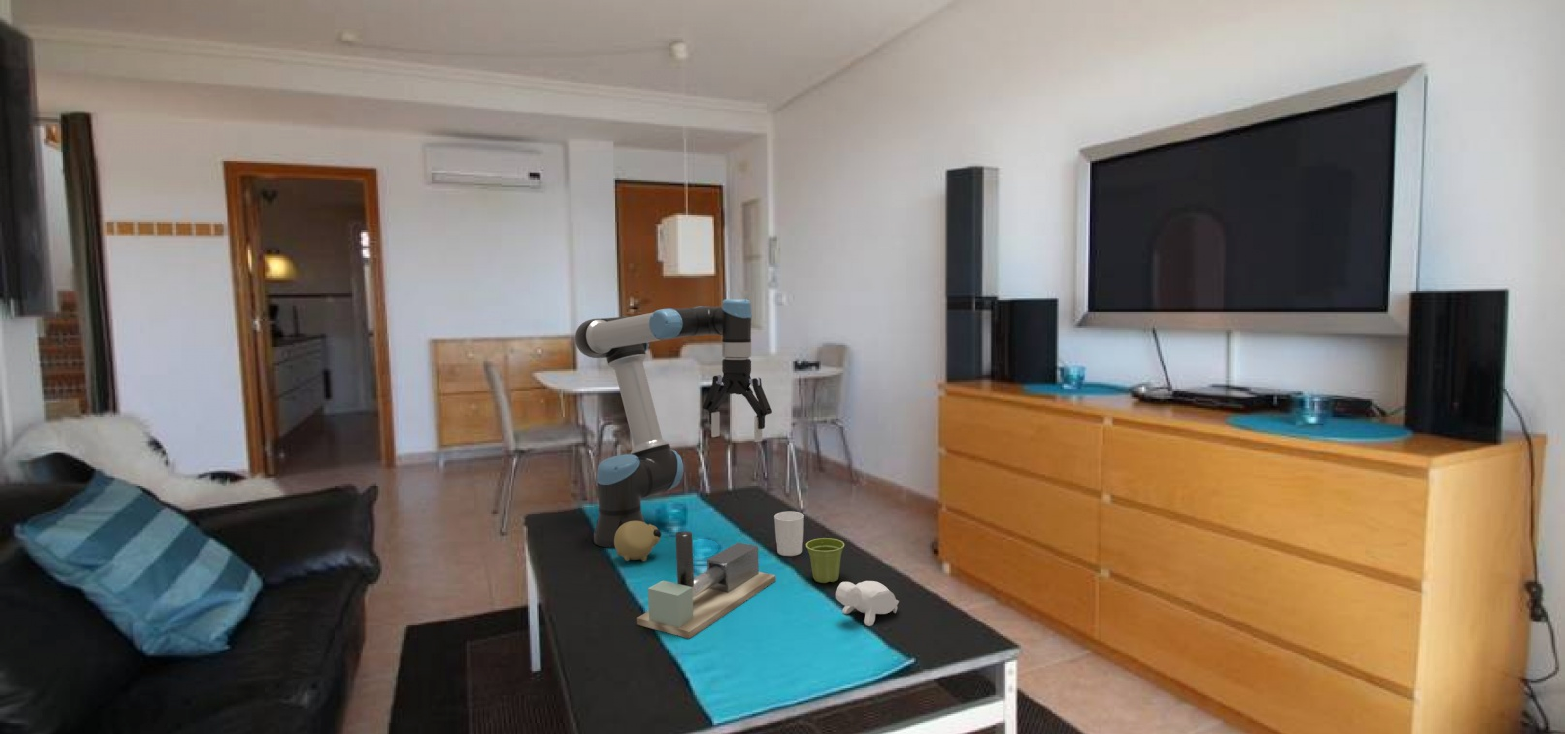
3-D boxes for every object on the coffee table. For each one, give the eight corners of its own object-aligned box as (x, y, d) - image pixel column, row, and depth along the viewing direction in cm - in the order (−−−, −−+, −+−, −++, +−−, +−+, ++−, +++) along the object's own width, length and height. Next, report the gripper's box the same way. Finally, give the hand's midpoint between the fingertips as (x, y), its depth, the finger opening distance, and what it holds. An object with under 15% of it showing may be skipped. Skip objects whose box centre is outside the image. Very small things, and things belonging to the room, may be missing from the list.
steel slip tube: (662, 608, 162) (659, 541, 160) (718, 575, 179) (716, 514, 178) (675, 612, 160) (672, 543, 158) (731, 578, 178) (729, 516, 176)
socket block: (649, 619, 162) (647, 588, 161) (664, 610, 166) (662, 580, 165) (679, 627, 158) (677, 595, 157) (693, 618, 162) (692, 587, 161)
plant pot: (799, 582, 184) (799, 547, 183) (816, 569, 192) (815, 535, 191) (835, 588, 180) (834, 553, 179) (850, 574, 188) (850, 540, 187)
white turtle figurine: (869, 616, 171) (820, 609, 163) (879, 579, 172) (831, 570, 164) (896, 629, 165) (847, 623, 156) (906, 591, 166) (858, 582, 157)
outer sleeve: (707, 588, 178) (706, 559, 177) (738, 569, 189) (738, 542, 188) (728, 592, 175) (727, 563, 174) (758, 573, 186) (758, 546, 185)
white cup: (804, 557, 201) (803, 520, 200) (774, 557, 201) (773, 520, 200) (804, 546, 209) (803, 511, 207) (775, 547, 209) (774, 511, 208)
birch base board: (637, 624, 163) (636, 617, 163) (727, 571, 192) (727, 565, 192) (689, 638, 156) (689, 631, 156) (775, 581, 185) (775, 575, 185)
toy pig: (666, 559, 201) (665, 520, 200) (624, 570, 194) (622, 529, 193) (651, 549, 209) (649, 511, 208) (609, 559, 203) (607, 520, 201)
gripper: (785, 359, 196) (784, 441, 198) (706, 355, 209) (706, 432, 211) (769, 361, 190) (769, 445, 192) (689, 357, 203) (689, 436, 204)
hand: (736, 439), depth 201 cm, fingers open, 13 cm apart
